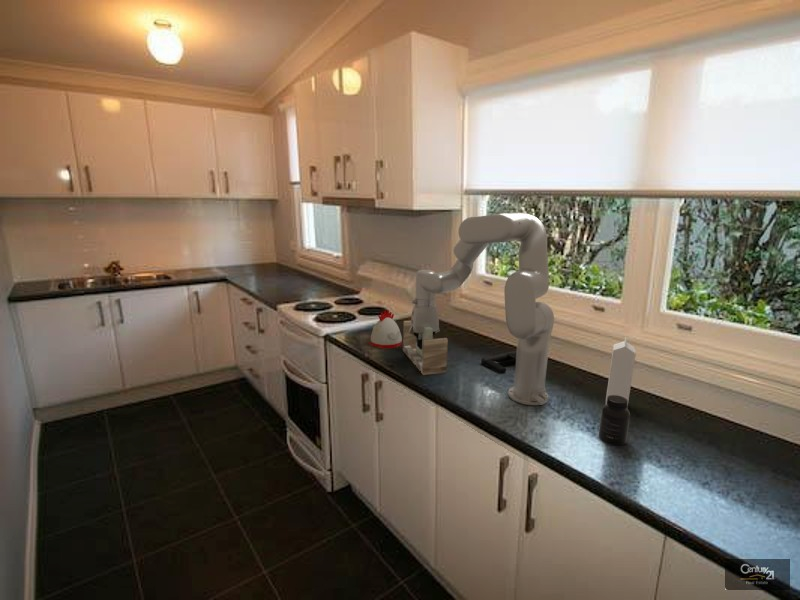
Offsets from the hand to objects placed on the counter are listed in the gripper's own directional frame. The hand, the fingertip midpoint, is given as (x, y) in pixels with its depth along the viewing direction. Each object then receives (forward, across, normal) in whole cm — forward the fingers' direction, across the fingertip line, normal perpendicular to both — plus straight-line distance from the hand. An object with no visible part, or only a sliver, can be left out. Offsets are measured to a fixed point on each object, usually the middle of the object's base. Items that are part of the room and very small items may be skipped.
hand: (423, 347), depth 166 cm
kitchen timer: (+6, -9, +24) cm, 26 cm away
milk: (+6, +47, -50) cm, 69 cm away
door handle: (+6, +32, -13) cm, 35 cm away
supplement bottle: (+6, +31, -66) cm, 73 cm away
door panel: (+4, 0, 0) cm, 4 cm away
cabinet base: (+6, 0, 0) cm, 6 cm away
